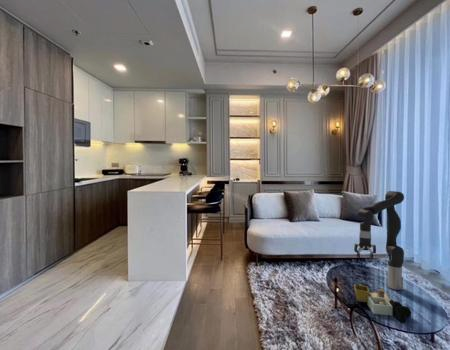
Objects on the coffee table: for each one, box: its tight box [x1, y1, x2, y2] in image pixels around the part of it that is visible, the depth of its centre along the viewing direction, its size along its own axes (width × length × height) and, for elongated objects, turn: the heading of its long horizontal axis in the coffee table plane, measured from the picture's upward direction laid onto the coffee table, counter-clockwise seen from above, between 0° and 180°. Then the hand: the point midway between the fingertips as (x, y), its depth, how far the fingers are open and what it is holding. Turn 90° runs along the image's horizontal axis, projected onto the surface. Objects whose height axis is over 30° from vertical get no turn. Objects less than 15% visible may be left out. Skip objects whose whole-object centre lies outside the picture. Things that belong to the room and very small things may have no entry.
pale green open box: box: [367, 295, 393, 316], centre depth 166 cm, size 11×11×6 cm
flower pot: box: [353, 284, 371, 303], centre depth 179 cm, size 9×9×9 cm
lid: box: [369, 288, 392, 302], centre depth 179 cm, size 12×12×7 cm
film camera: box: [389, 299, 412, 324], centre depth 159 cm, size 15×10×9 cm, turn 174°
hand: (364, 258), depth 186 cm, fingers open, 8 cm apart
